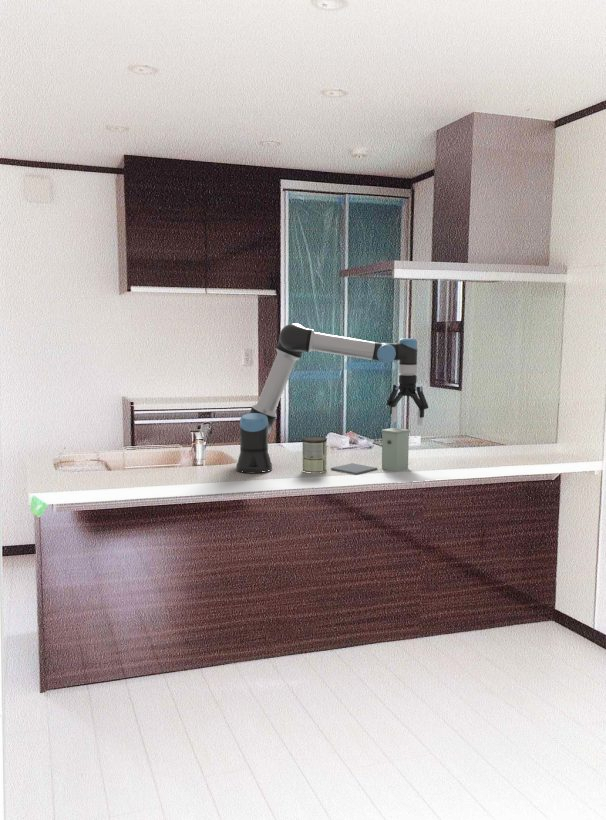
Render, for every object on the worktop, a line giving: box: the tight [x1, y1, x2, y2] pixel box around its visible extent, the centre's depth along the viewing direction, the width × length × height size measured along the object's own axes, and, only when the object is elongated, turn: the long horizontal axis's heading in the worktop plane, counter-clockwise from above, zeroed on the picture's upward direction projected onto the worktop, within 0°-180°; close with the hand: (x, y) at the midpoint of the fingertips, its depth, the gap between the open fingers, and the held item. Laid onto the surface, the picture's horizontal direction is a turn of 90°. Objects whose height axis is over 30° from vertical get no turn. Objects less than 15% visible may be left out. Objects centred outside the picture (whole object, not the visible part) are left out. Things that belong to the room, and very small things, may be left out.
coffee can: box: [301, 435, 328, 474], centre depth 308 cm, size 10×10×14 cm
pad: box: [330, 463, 378, 475], centre depth 312 cm, size 14×14×1 cm
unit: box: [380, 427, 411, 472], centre depth 313 cm, size 9×9×17 cm
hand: (406, 423), depth 318 cm, fingers open, 13 cm apart
